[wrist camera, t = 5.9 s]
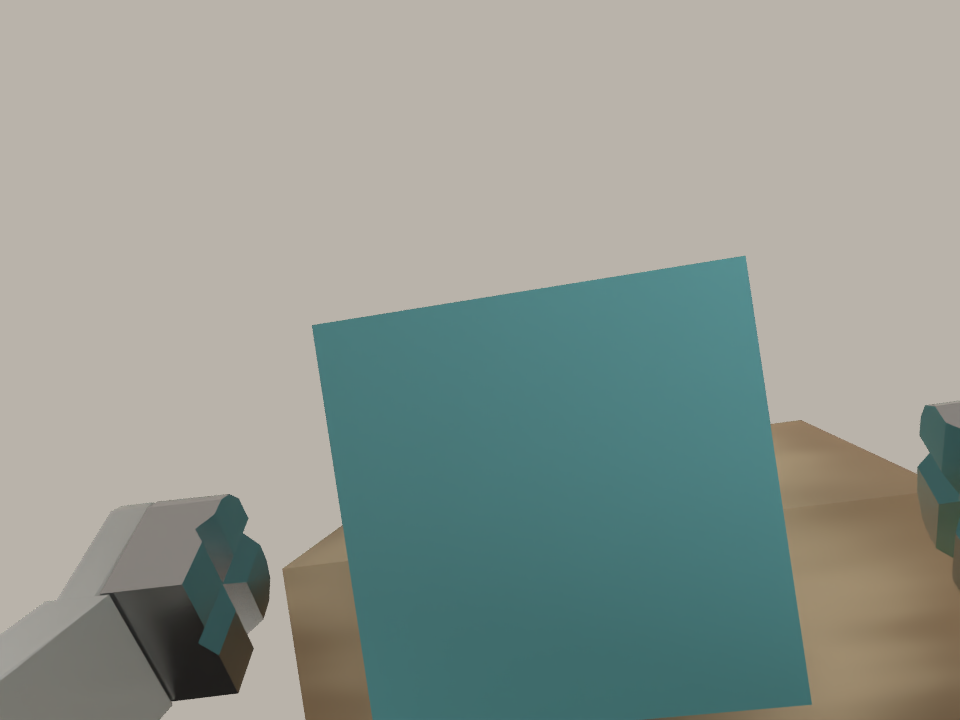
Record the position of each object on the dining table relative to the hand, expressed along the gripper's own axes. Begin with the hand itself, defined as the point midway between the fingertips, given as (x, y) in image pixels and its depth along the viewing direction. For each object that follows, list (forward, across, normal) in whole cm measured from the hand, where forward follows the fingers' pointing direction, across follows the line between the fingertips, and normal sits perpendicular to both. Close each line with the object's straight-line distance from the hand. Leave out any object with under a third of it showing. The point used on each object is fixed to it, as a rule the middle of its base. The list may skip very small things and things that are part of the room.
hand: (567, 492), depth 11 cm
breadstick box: (+6, 0, +5) cm, 8 cm away
